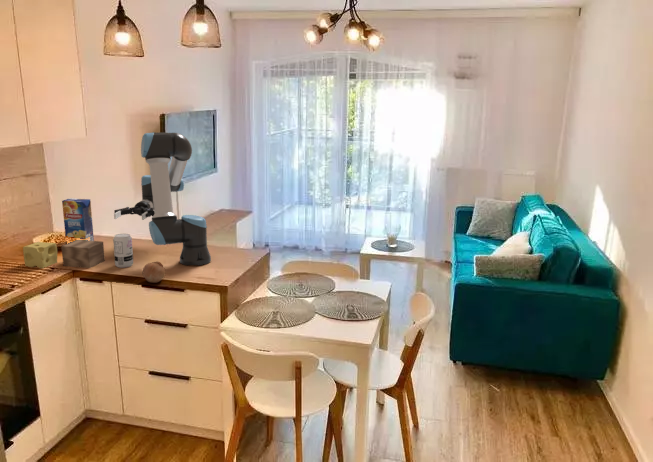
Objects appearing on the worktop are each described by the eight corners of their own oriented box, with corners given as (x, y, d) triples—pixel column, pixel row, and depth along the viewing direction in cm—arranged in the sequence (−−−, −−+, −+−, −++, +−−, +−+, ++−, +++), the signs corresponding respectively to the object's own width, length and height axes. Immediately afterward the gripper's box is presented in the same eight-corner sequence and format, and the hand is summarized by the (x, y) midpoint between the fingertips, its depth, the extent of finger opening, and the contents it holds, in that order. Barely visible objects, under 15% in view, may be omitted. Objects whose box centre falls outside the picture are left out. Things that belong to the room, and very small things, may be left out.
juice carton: (94, 241, 289) (90, 199, 283) (86, 245, 282) (82, 201, 276) (74, 240, 291) (70, 198, 285) (66, 243, 284) (61, 200, 278)
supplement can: (114, 263, 252) (112, 233, 248) (132, 262, 255) (131, 232, 252) (115, 268, 245) (113, 238, 241) (133, 267, 248) (132, 236, 244)
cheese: (43, 268, 242) (41, 248, 240) (23, 266, 244) (21, 246, 242) (58, 262, 252) (56, 242, 250) (39, 260, 254) (37, 240, 252)
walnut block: (104, 261, 256) (103, 241, 254) (90, 268, 245) (88, 248, 242) (79, 258, 258) (77, 239, 256) (63, 266, 247) (61, 246, 245)
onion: (162, 285, 233) (170, 265, 234) (156, 287, 224) (166, 265, 224) (142, 277, 233) (151, 257, 233) (136, 279, 223) (145, 257, 224)
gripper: (167, 215, 275) (154, 225, 255) (120, 213, 275) (103, 223, 255) (166, 201, 274) (153, 210, 253) (119, 200, 273) (102, 208, 253)
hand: (128, 216), depth 254 cm, fingers open, 13 cm apart
